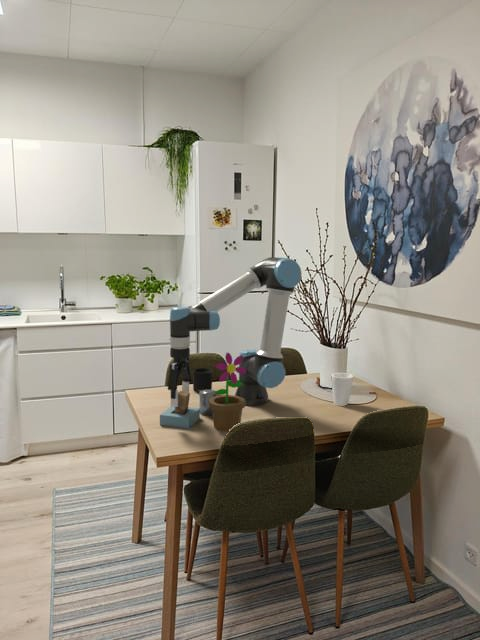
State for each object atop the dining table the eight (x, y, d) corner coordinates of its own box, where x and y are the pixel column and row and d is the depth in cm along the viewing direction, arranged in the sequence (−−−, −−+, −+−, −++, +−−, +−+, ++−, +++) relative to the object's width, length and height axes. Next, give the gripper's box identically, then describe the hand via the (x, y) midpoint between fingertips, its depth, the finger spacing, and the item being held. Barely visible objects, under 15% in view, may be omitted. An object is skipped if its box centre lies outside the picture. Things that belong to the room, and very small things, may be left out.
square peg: (186, 419, 203) (190, 393, 201) (182, 422, 199) (186, 395, 197) (177, 416, 204) (180, 390, 202) (173, 420, 200) (176, 393, 198)
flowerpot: (216, 434, 188) (216, 355, 183) (203, 422, 201) (203, 347, 196) (251, 429, 194) (252, 352, 189) (236, 417, 207) (237, 345, 202)
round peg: (217, 410, 214) (217, 390, 213) (213, 415, 208) (213, 394, 207) (202, 409, 216) (202, 389, 215) (197, 414, 209) (197, 393, 208)
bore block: (199, 418, 205) (199, 408, 205) (188, 428, 194) (188, 418, 193) (172, 414, 209) (172, 405, 208) (159, 424, 197) (159, 414, 197)
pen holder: (188, 390, 243) (188, 369, 242) (204, 386, 250) (204, 367, 248) (200, 394, 236) (200, 374, 235) (216, 391, 242) (216, 370, 241)
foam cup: (353, 402, 229) (355, 374, 227) (349, 408, 220) (350, 379, 218) (333, 399, 233) (334, 371, 231) (327, 405, 224) (328, 376, 222)
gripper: (182, 340, 209) (182, 392, 212) (158, 352, 187) (158, 410, 190) (199, 342, 207) (199, 394, 210) (177, 354, 185) (177, 412, 188)
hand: (180, 401), depth 200 cm, fingers open, 11 cm apart
